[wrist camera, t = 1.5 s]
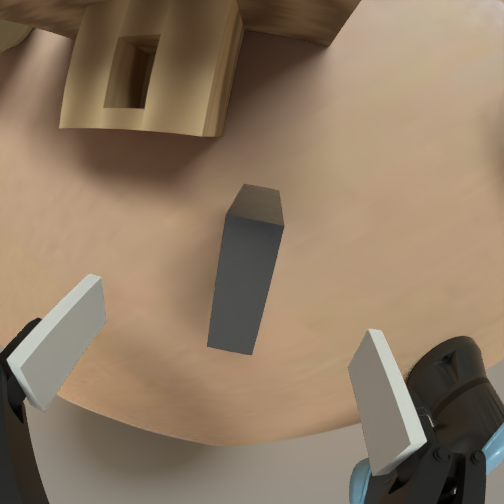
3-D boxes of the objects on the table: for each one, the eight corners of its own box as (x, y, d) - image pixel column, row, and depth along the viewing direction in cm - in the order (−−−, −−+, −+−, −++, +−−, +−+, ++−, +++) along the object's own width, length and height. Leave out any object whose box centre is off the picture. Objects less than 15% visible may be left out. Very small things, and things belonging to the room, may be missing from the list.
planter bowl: (37, 60, 23) (-17, 54, 13) (-13, 70, 23) (-57, 71, 13) (74, -29, 17) (33, -52, 7) (15, -8, 16) (-23, -17, 6)
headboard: (332, 24, 22) (401, -84, 3) (307, 153, 28) (375, 184, 9) (77, 20, 21) (-31, -14, 3) (55, 126, 27) (-71, 148, 9)
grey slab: (277, 180, 29) (284, 225, 14) (260, 257, 33) (251, 355, 18) (249, 174, 29) (226, 214, 14) (234, 252, 33) (206, 346, 18)
